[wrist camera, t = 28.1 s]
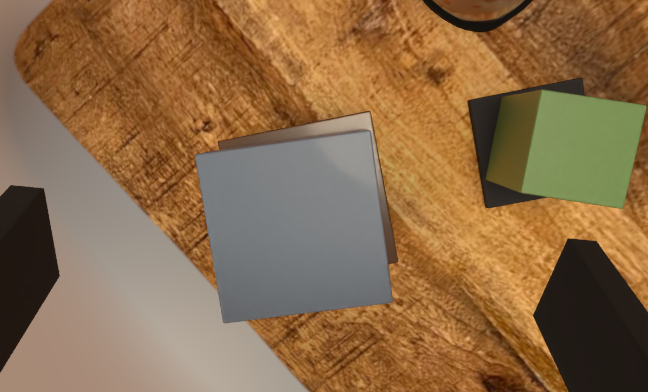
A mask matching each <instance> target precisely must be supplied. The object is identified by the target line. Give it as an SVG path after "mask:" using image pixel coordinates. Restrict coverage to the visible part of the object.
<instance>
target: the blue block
mask: <svg viewBox="0 0 648 392" xmlns="http://www.w3.org/2000/svg"><path fill="white" fill-rule="evenodd" d="M195 159H196V165H197V171H198V177H199V183H200V189H201V194H202V200H203V206H204V212H205V218H206V224H207V230H208V236H209V241H210V247H211V253H212V259H213V265H214V271H215V277H216V283H217V288H218V294H219V300H220V306H221V312H222V318H223V322H224V323H231V322H239V321H247V320H255V319H263V318H271V317H279V316H288V315H296V314H304V313H312V312H320V311H328V310H337V309H345V308H353V307H361V306H369V305H377V304H386V303H392V302H393V298H392V290H391V283H390V275H389V267H388V259H387V252H386V244H385V236H384V228H383V221H382V213H381V205H380V197H379V190H378V182H377V174H376V166H375V159H374V151H373V143H372V135H371V131H370V130H366V129H360V130H353V131H346V132H339V133H332V134H325V135H318V136H311V137H304V138H297V139H289V140H282V141H275V142H268V143H261V144H254V145H247V146H240V147H233V148H227V149H221V150H216V151H211V152H206V153H201V154H196V155H195Z"/></svg>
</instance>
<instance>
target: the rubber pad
mask: <svg viewBox="0 0 648 392" xmlns="http://www.w3.org/2000/svg"><path fill="white" fill-rule="evenodd" d="M538 90H549V91H556V92H563V93H569V94H576V95H582V96H585V94H584V87H583V79H582V78H577V79H572V80H567V81H562V82H557V83H552V84H547V85H542V86H537V87H532V88H527V89H522V90H518V91H513V92H508V93H503V94H498V95H493V96H488V97H483V98H478V99H473V100H469V101H468V103H469V110H470V116H471V122H472V128H473V134H474V140H475V146H476V152H477V158H478V164H479V171H480V177H481V183H482V189H483V195H484V201H485V207H486V208H493V207H498V206H503V205H509V204H514V203H519V202H525V201H530V200H535V199H541V198H546V197H543V196H537V195H530V194H524V193H520V192H517V191H515V190H512V189H509V188H507V187H504V186H501V185H499V184H496V183H493V182H491V181H488V180H486V174H487V169H488V164H489V159H490V154H491V149H492V143H493V138H494V133H495V128H496V123H497V118H498V113H499V108H500V102H501V98H502V97H506V96H511V95H516V94H522V93H527V92H532V91H538Z"/></svg>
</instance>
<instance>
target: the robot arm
mask: <svg viewBox="0 0 648 392" xmlns="http://www.w3.org/2000/svg"><path fill="white" fill-rule="evenodd" d="M59 276H60V275H59V270H58V264H57V259H56V253H55V248H54V242H53V236H52V231H51V225H50V220H49V215H48V209H47V203H46V197H45V192H44V189H43V188H34V187H23V186H13V185H11V186H10V187H9V188H8V189H7V190H6V191H5V192H4V193H3V194H2V195H1V196H0V372H1V371H2V369H3V367H4V366H5V364H6V362H7V361H8V359H9V358H10V355H11V354H12V353H13V351H14V349H15V348H16V346H17V344H18V343H19V341H20V339H21V338H22V336H23V335H24V333H25V331H26V330H27V328H28V326H29V325H30V323H31V322H32V320H33V318H34V317H35V315H36V314H37V312H38V310H39V308H40V307H41V305H42V304H43V302H44V301H45V299H46V297H47V296H48V294H49V292H50V291H51V289H52V288H53V286H54V284H55V283H56V281H57V279H58V278H59ZM533 317H534V319H535V321H536V323H537V325H538V327H539V329H540V332H541V334H542V336H543V338H544V340H545V342H546V344H547V346H548V349H549V351H550V353H551V355H552V357H553V359H554V361H555V363H556V366H557V368H558V370H559V372H560V374H561V376H562V378H563V380H564V383H565V385H566V387H567V389H568V391H569V392H648V312H647V310H646V309H645V308H644V306H643V305H642V303H641V302H640V301H639V299H638V298H637V297H636V295H635V294H634V292H633V291H632V290H631V288H630V287H629V286H628V284H627V283H626V281H625V280H624V279H623V277H622V276H621V275H620V273H619V272H618V270H617V269H616V268H615V266H614V265H613V264H612V262H611V261H610V259H609V258H608V257H607V255H606V254H605V253H604V251H603V250H602V248H601V247H600V246H599V244H598V243H597V241H589V240H578V239H568V240H567V242H566V244H565V246H564V248H563V251H562V253H561V255H560V257H559V259H558V262H557V264H556V266H555V268H554V270H553V273H552V275H551V277H550V279H549V282H548V284H547V286H546V288H545V290H544V293H543V295H542V297H541V299H540V301H539V304H538V306H537V308H536V310H535V312H534V315H533Z"/></svg>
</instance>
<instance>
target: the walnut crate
mask: <svg viewBox="0 0 648 392" xmlns="http://www.w3.org/2000/svg"><path fill="white" fill-rule="evenodd" d="M360 129H366V130H370V131H371V135H372V143H373V151H374V159H375V166H376V174H377V182H378V190H379V197H380V205H381V213H382V221H383V228H384V236H385V244H386V252H387V259H388V264H392V263H397V262H398V256H397V251H396V246H395V240H394V235H393V230H392V224H391V219H390V213H389V208H388V203H387V197H386V192H385V186H384V181H383V176H382V170H381V165H380V160H379V154H378V149H377V143H376V138H375V133H374V127H373V122H372V116H371V112H370V111H366V112H361V113H357V114H352V115H347V116H342V117H337V118H332V119H327V120H322V121H317V122H312V123H307V124H302V125H297V126H292V127H287V128H282V129H277V130H272V131H267V132H262V133H257V134H252V135H247V136H242V137H237V138H232V139H227V140H222V141H218V146H219V150H221V149H227V148H233V147H240V146H247V145H254V144H261V143H268V142H275V141H282V140H289V139H297V138H304V137H311V136H318V135H325V134H332V133H339V132H346V131H353V130H360Z"/></svg>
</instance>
